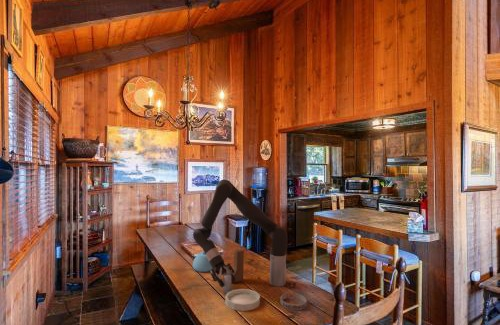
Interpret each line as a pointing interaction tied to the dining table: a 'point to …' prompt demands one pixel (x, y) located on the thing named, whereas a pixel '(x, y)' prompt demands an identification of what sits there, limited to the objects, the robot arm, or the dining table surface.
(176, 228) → the dining table surface
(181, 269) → the dining table surface
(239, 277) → the wooden block
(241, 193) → the robot arm
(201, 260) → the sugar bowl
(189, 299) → the dining table surface
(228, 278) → the grey peg
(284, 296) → the bracelet
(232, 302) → the round tray
